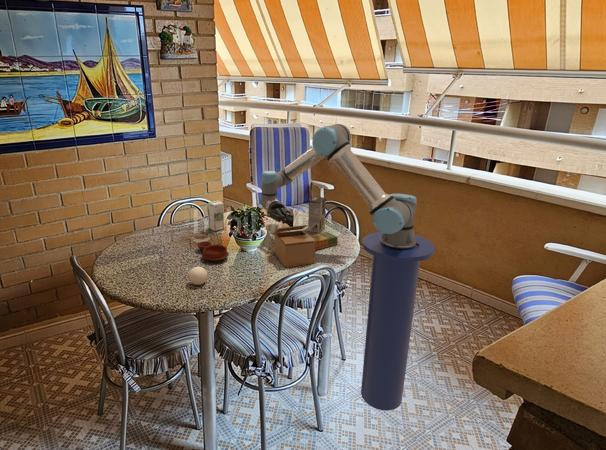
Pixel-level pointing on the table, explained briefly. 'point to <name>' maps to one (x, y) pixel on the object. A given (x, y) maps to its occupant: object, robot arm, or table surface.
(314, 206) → the coffee box
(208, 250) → the pottery
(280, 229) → the flap
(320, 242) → the carton
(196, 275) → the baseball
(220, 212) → the syrup box
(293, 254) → the box
